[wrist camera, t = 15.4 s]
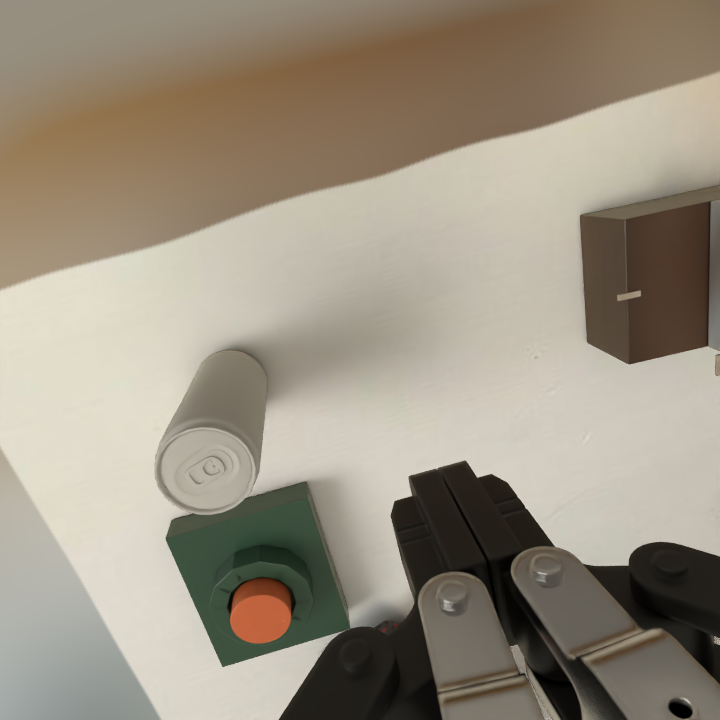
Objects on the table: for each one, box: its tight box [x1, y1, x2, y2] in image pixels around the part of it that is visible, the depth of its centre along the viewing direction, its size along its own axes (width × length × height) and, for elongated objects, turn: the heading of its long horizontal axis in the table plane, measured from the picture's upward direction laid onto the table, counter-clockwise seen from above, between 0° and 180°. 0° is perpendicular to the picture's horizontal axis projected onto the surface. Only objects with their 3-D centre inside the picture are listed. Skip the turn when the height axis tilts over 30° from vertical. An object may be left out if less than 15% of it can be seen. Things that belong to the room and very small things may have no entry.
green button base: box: [166, 482, 350, 667], centre depth 39 cm, size 12×10×4 cm
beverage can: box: [155, 350, 268, 515], centre depth 30 cm, size 5×5×12 cm
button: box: [230, 577, 291, 644], centre depth 36 cm, size 4×4×2 cm
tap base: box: [580, 185, 720, 376], centre depth 35 cm, size 13×13×5 cm
